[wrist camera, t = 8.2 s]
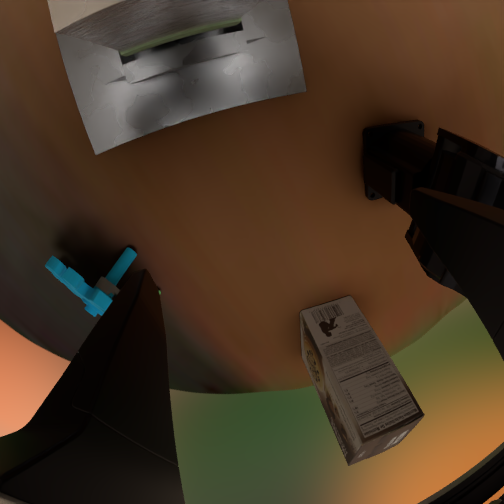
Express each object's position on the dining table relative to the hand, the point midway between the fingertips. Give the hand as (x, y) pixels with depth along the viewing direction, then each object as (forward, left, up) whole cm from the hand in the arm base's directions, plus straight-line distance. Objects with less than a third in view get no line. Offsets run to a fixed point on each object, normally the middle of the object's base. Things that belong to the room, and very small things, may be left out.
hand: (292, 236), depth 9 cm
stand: (+1, -9, -13) cm, 16 cm away
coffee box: (-6, +24, -13) cm, 28 cm away
